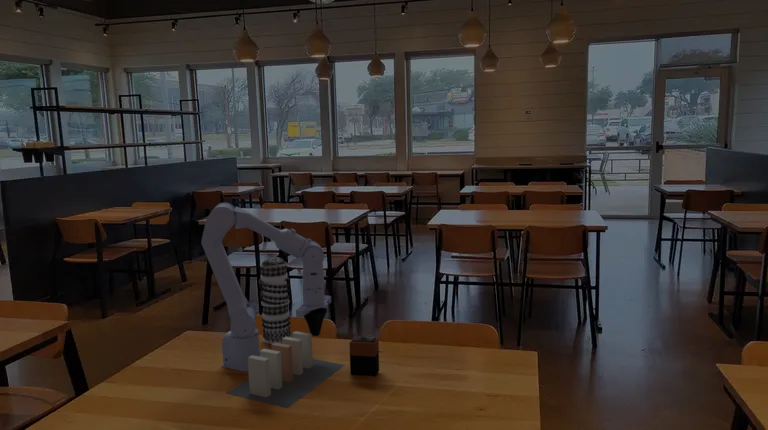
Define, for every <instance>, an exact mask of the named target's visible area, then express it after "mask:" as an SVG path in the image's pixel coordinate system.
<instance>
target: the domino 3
mask: <svg viewBox="0 0 768 430" xmlns="http://www.w3.org/2000/svg"><path fill="white" fill-rule="evenodd" d="M270 346H271V347H270V348H271V350H274V351H280V352H281V369H282V381H286V382H290V381H292V380H293V366H292V345H287V344H282V343H273V344H271V345H270Z"/></svg>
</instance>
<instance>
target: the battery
mask: <svg viewBox="0 0 768 430" xmlns="http://www.w3.org/2000/svg"><path fill="white" fill-rule="evenodd" d="M379 345H380V344H379V338H378V337H375V336H374V335H366V336H365V337H363V336H361V335H355V336H353V338H352V339H351V340H350V342H349V369H350V370H349V371H350V372H349V373H350V376H357V377H358V376H360V377H373V378H374V377H377V376H378V373H379V371H380V358H379V357H380V355H379V353H380V352H379V351H380V350H379V349H380V346H379Z"/></svg>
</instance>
